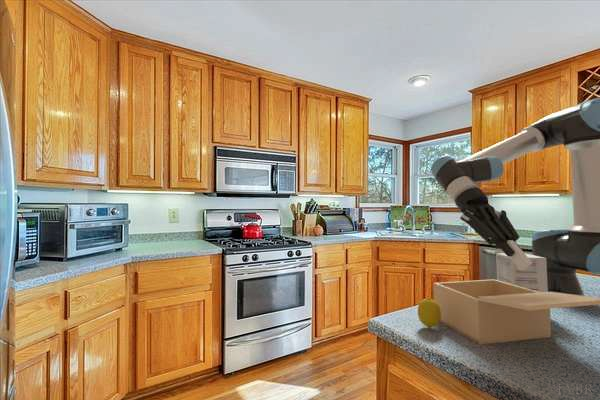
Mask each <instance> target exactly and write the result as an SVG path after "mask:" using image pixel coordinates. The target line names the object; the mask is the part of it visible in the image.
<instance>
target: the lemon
mask: <svg viewBox="0 0 600 400" xmlns="http://www.w3.org/2000/svg"><path fill="white" fill-rule="evenodd" d="M417 315H418V316H417V317H418V319H419V321H420V323H421V324H423V325H424V326H426V327H427V328H428V329H429V330H431V329H432V328H433V327H436V326H438V325H439V324H440V323H441V322H440V320H441V311H440V307H439V305H438V303H437V302H436V301H434V298H433V299H432V298H431V297H429V296H427V297H426V298H423V299H421V300H420V301H419V304H418V306H417Z"/></svg>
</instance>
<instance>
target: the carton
mask: <svg viewBox="0 0 600 400" xmlns="http://www.w3.org/2000/svg"><path fill="white" fill-rule="evenodd" d="M432 285H433V287H432V288H433V300H434V301H436V302H437V303H438V305H439V307H440V311H441V320H440V322H439V323H441V324H443V325H445V326H446V327H448V328H450V329H451V330H454V331H455V332H457V333H458V334H460V335H461V336H464V337H465V338H467V339H468V340H470V341H472V342H474V343H475V344H477V345H479V346H481V345H489V344H497V343H508V342H518V341H526V340H527V341H528V340H535V339H544V338H545V339H546V338H551V337H552V328H551V327H552V326H551V324H552V323H551V309H539V310H524V309H519V308H514V307H509V306H504V305H499V304H494V303H489V302H484V301H479V298H478V297H483V296H497V295H511V294H525V293H539V292H537V291H534V290H530V289H526V288H523V287H519V286H516V285H512V284H509V283H505V282H502V281H498V280H497V279H478V280H477V279H476V280H462V281H460V280H459V281H445V282H433V284H432Z"/></svg>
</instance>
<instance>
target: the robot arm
mask: <svg viewBox="0 0 600 400" xmlns="http://www.w3.org/2000/svg"><path fill="white" fill-rule="evenodd" d="M561 145H563V148H565V150H568V151H569V152H570V165H571V166H570V168H571V170H570V171H571V186H572V187H571V188H572V207H573V210H572V211H573V214H572V215H573V225H572V226H570V227H569V228H567V229H543V230H541V229H540V230H535V231H533V233H532V236H531V237H532V238H531V239H532V240H531V250H532V252H531V253H532V254H531V255H535V256H539V257H544V258H546V262H547V287H548V292H556V293H564V294H572V295H580V296H585V294H584V290H583V287H582V285H581V283H580V281H579V279H578V276H577V271H581V272H588V273H590V274H593V275H597V276H598V275H600V97H596V98H593V99H590V100H585V101H582V102H580V103H578V104H575V105H573V106H570V107H567V108H564V109H561V110H558V111H555V112H553V113H551V114H549V115H547V116H545V117H543V118H542V119H540V120H538V121H535V122H534V123H532V124H530V125H528V126H527V127H524V128H522V129H521V130H520V131H519V133H518V134H516V135H514V136H511V137H509V138H507V139H505V140H503V141H501V142H498V143H496V144H494V145H491V146H490V147H488V148H485V149H483V150H482V151H479V152H477V153H475V154H473V155H470V156H468V157H466V158H464V159H462V160H457V161H456V159H455V158H454V157H452V156H450V155H443V156H440V157H438V158H436V159H435V160H434V162H432V164H431V167H430V172H431V174H432V175H433V177H434V179H435V180H436V181H437V183H438V184H439V185H440V186H441V188H442V189H443V190H444V191H445V192H446V194H447V195H448V196H449V197H450V199H451V200H452V201H453V203H454V204H455V205H456V208H458V209H459V211H460V212H461V213H462V215H461V216H460V217H459V218H460V220H461V221H463V222H464V223H465V224H467V225H468V226H469V227H470V228H471V229H473V230H474V232H475V233H476V234H478V235H479V236H480V237H481V238H482V239H483V240H484V241H485V242H486V243H487V244H488V245H490V246H492V245H494V247H493V248H494V249H496V250H497V249H501V250H502V253H505V254H506V255H507V256H509V258H510V259H511V260H512V261H513V263H514V264H515V265H516V266H517V268H518V269H519V270H525V269H526V268H528V267H529V266H530V265H531V264H532V261H531V260H530V259H529V258H528V257H527V256H526V255H525V254H526V253H525V252H524V250H523V249H522V248H521V246H520V245H519V244H518V243H517V241H518V240H519V238H520V235H519V234H518V232H517V231H516V229H515V227H514V226H513V224H512V222H511V221H510V219H509V218H508V216H507V212H506V211H505V210H503V209H501V210H500V211H498V210H496V209H495V207H494V206H493V205H491V204H489V197H488V196H487V194H486V193H485V192H484V191H483V190H482V189H481V188H480V186H479V185H478V184H477V183H484V182H491V181H495V180H499V179H500V178H501V177H502V176H503V174H504V169H505V168H504V165H505V164H508V163H509V162H511V161H513V160H515V159H518V158H520V157H522V156H524V155H527V154H529V153H537V152H539V151H542V150H544V149H548V148H553V147H557V146H561Z"/></svg>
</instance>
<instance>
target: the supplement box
mask: <svg viewBox="0 0 600 400" xmlns="http://www.w3.org/2000/svg"><path fill="white" fill-rule="evenodd" d="M525 255H526V256H527V257H528V258H529V259H530V260H531V261H532V264H531V265H530V266H529V267H528V268H526V269H525V270H519V269H518V268H517V266H516V265H515V264H514V263H513V261H512V260H511V259H510V258H509V256H507V255H506V254H505V253H504V252H502V253H501V252H496V253H495V259H496V265H495V266H496V280H498V281H502V282H505V283H509V284H512V285H516V286H519V287H523V288H526V289H530V290H534V291H537V292H548V287H547V262H546V258H544V257H539V256H535V255H533V254H530V253H525Z"/></svg>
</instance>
